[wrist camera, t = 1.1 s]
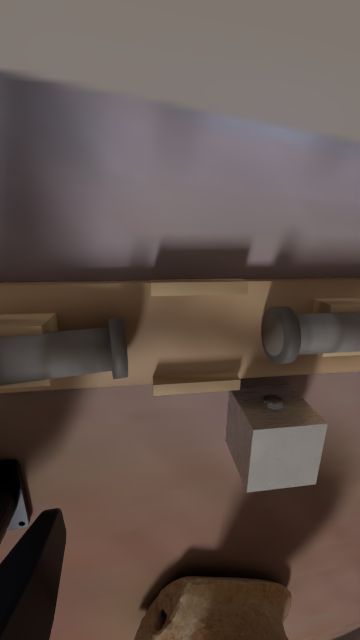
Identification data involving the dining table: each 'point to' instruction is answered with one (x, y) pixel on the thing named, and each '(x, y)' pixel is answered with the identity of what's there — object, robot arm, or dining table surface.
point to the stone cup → (217, 610)
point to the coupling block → (274, 437)
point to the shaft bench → (175, 332)
